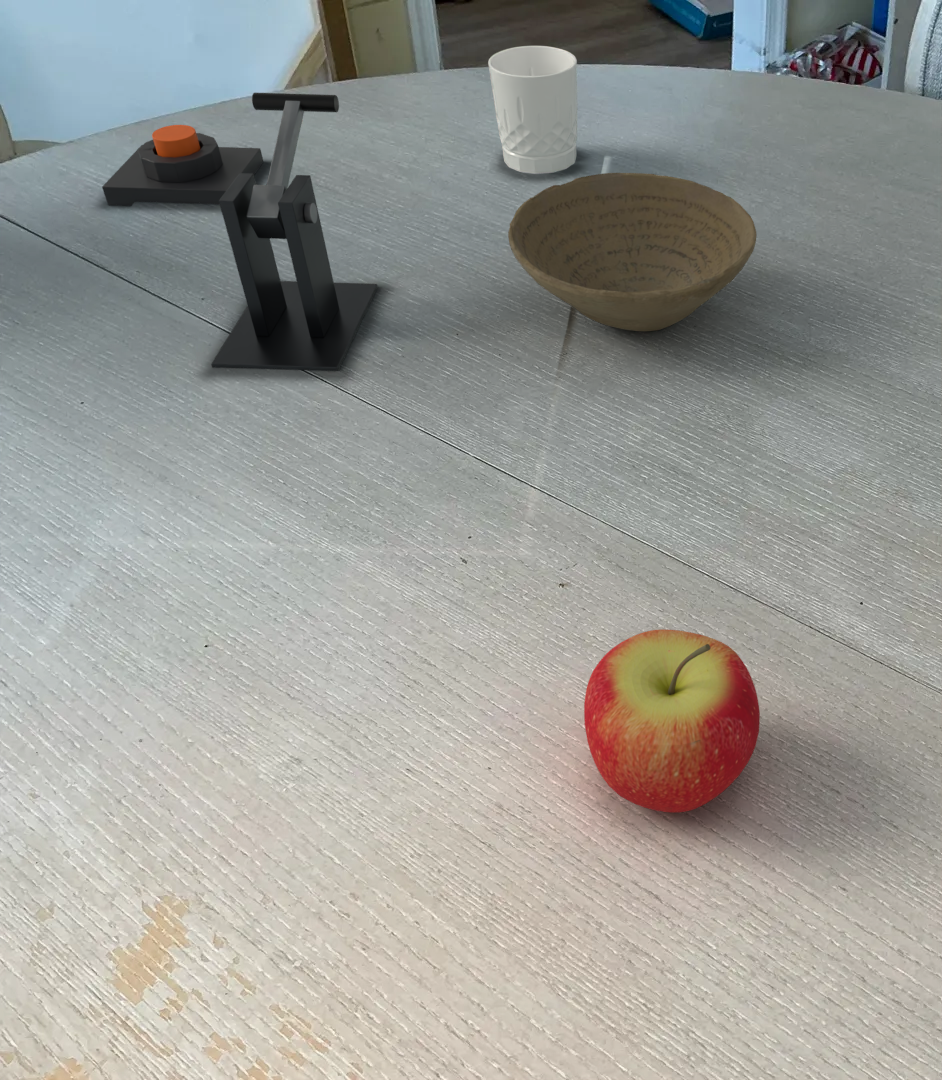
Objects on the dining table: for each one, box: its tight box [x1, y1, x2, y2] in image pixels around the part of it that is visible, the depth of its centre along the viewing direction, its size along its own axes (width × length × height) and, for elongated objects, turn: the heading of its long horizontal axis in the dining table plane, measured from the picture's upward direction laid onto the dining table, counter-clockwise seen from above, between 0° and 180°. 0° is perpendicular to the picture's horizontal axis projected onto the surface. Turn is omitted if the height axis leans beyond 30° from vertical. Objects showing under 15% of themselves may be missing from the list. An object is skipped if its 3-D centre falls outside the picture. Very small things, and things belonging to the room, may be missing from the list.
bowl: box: [507, 172, 758, 332], centre depth 89 cm, size 18×18×8 cm
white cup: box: [487, 45, 578, 175], centre depth 109 cm, size 8×8×10 cm
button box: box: [101, 132, 265, 207], centre depth 106 cm, size 11×9×4 cm
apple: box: [583, 629, 761, 813], centre depth 56 cm, size 8×8×10 cm
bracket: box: [211, 173, 379, 372], centre depth 85 cm, size 12×9×12 cm
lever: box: [247, 92, 340, 240], centre depth 84 cm, size 12×6×2 cm, turn 179°
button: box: [151, 124, 200, 157], centre depth 104 cm, size 4×4×2 cm
